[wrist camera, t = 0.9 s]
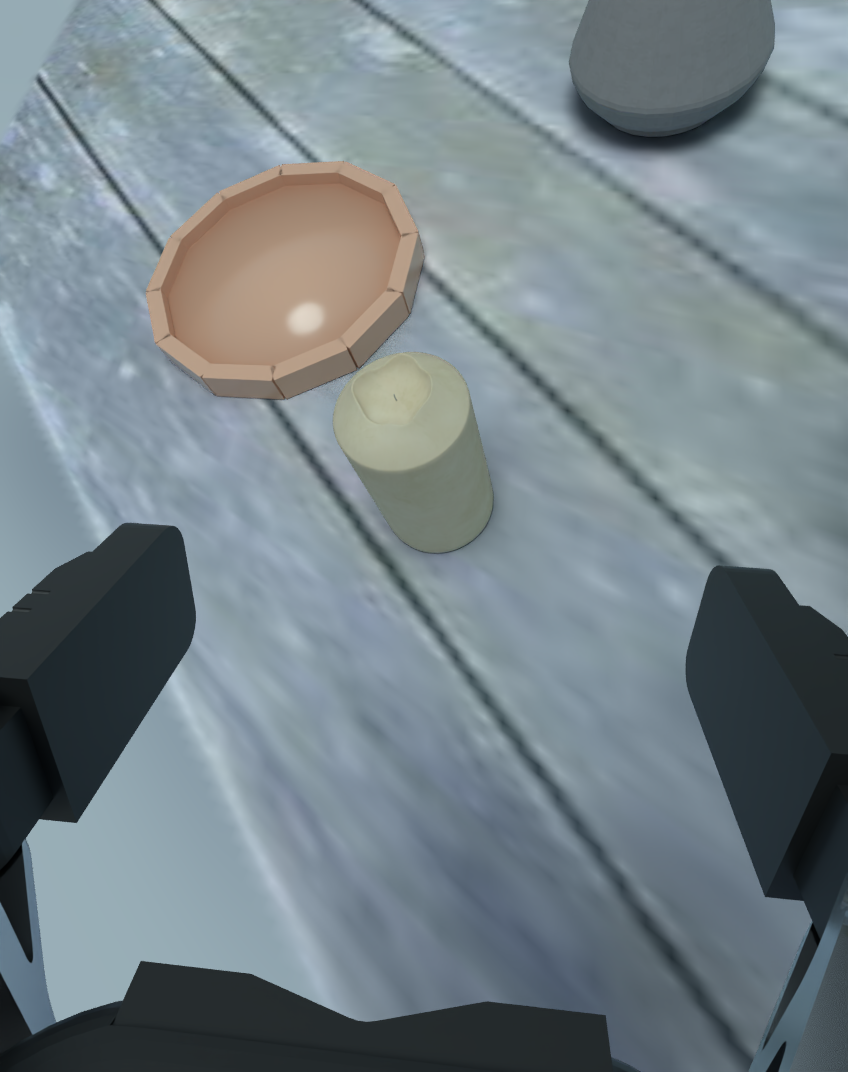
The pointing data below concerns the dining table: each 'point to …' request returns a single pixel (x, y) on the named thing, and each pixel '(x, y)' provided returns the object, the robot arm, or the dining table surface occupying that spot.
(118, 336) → the dining table surface
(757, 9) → the coffee pot
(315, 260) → the saucer
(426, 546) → the candle
